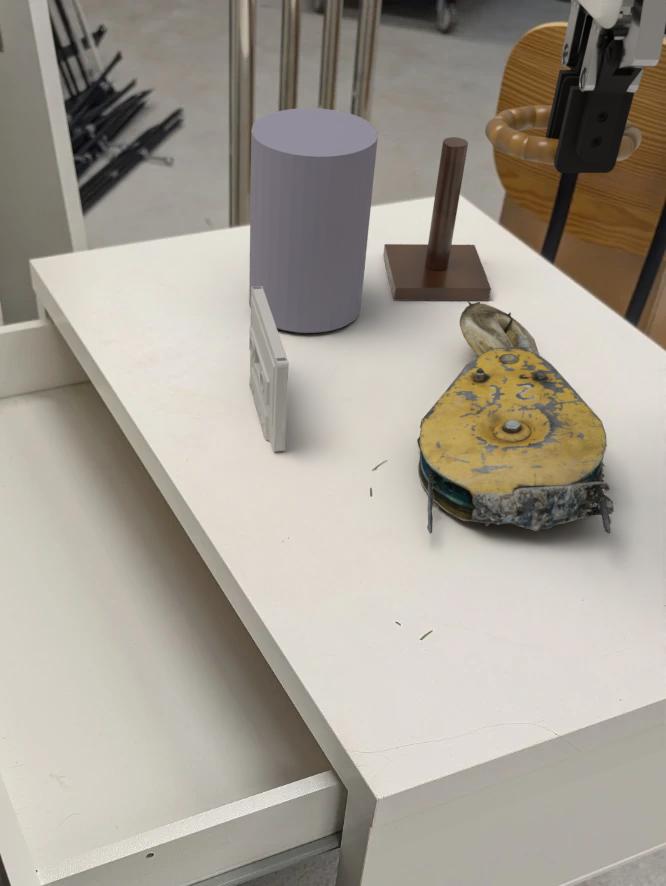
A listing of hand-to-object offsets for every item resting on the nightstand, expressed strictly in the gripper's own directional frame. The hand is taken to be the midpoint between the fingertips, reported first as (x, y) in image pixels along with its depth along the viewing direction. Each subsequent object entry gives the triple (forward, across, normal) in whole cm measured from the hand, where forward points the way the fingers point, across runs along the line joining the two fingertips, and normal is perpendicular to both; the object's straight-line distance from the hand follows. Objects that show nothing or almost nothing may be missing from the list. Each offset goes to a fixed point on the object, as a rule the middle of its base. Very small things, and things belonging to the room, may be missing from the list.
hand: (577, 159), depth 56 cm
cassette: (+25, +15, +16) cm, 33 cm away
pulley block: (+25, +11, -3) cm, 28 cm away
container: (+25, +32, +11) cm, 42 cm away
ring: (0, +3, 0) cm, 3 cm away
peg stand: (+25, +38, -2) cm, 45 cm away
